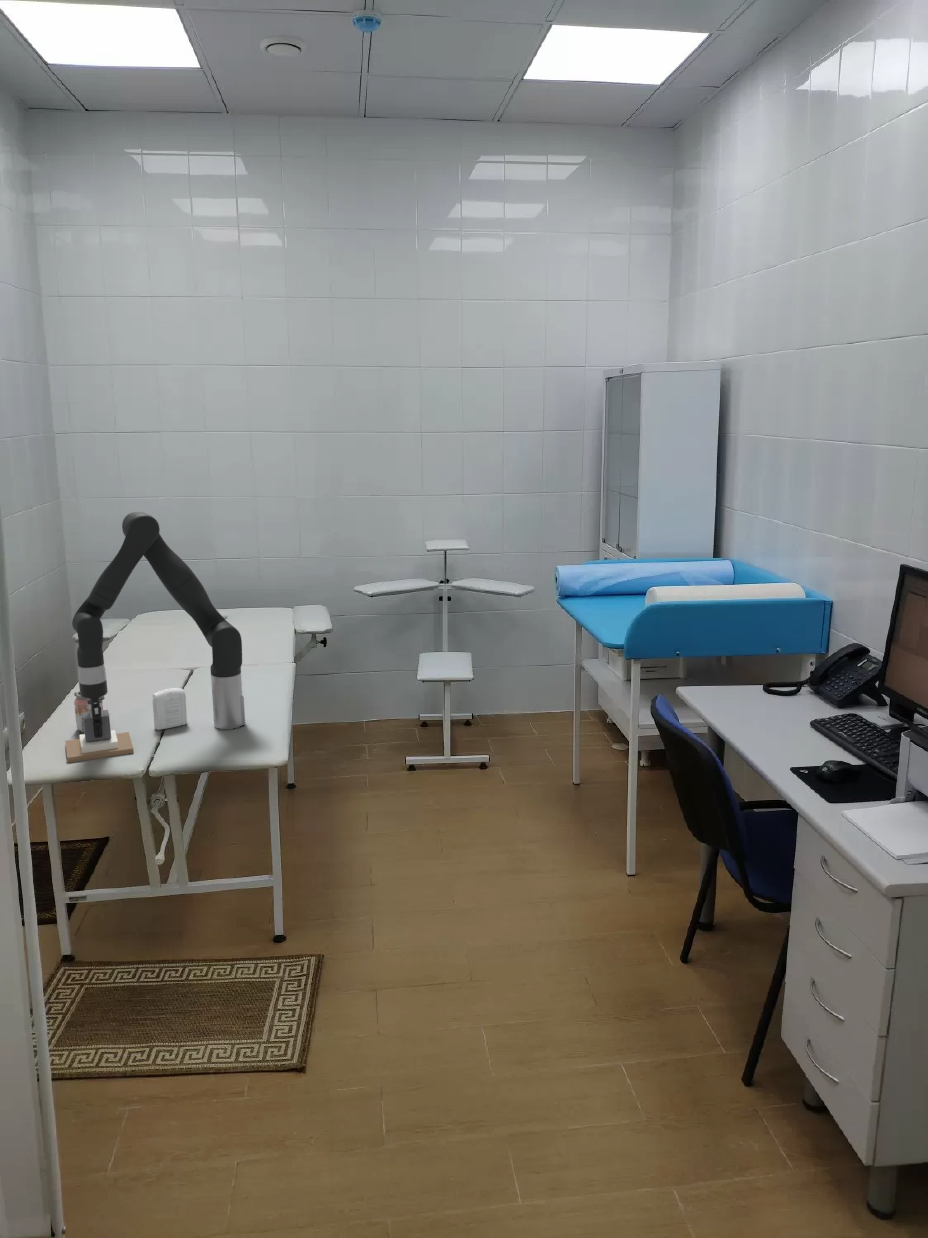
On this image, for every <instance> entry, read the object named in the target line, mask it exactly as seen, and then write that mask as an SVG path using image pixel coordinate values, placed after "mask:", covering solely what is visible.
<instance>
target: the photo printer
mask: <svg viewBox="0 0 928 1238" xmlns="http://www.w3.org/2000/svg"><path fill="white" fill-rule="evenodd" d="M186 697H187V696H186V692H185V690H184V689H183V688H180V687H170V688H166V689H162V690H159V691H157V692H155V693H153V695H152V711H153V724H154V726H153V727H154V729H155V730H158V731H160V730H165V729H171V728H176V727H180V726H181V725H182V726H186V725H187V724H188V715H187V713H188V712H187V699H186ZM185 724H186V725H185Z"/></svg>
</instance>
